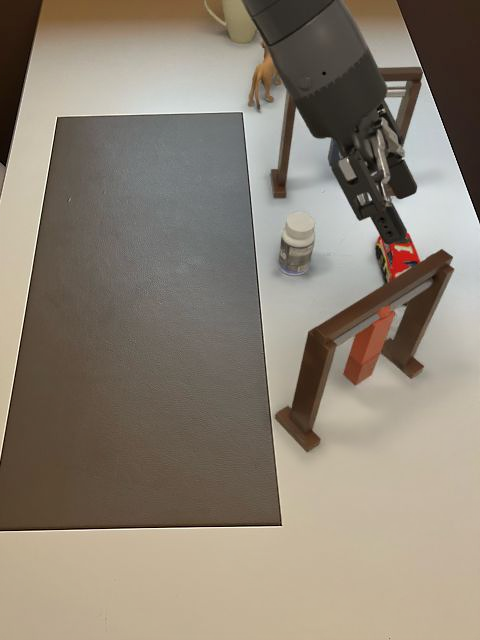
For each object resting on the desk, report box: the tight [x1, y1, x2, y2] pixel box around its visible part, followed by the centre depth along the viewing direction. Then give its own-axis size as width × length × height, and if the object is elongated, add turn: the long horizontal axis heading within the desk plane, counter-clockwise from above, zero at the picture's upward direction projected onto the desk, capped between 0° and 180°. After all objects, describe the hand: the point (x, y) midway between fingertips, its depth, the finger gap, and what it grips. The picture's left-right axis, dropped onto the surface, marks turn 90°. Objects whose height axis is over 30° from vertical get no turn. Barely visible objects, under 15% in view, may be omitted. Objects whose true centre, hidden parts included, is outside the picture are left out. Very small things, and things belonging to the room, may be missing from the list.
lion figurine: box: [247, 37, 282, 112], centre depth 115 cm, size 15×5×9 cm, turn 167°
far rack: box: [269, 66, 424, 199], centre depth 95 cm, size 6×20×19 cm, turn 91°
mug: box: [203, 0, 257, 44], centre depth 125 cm, size 11×10×12 cm
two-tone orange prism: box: [333, 277, 434, 387], centre depth 70 cm, size 2×15×13 cm, turn 126°
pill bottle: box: [277, 211, 316, 276], centre depth 89 cm, size 5×5×8 cm
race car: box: [375, 232, 421, 305], centre depth 90 cm, size 13×5×4 cm, turn 2°
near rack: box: [274, 248, 455, 453], centre depth 72 cm, size 6×20×19 cm, turn 126°
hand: (403, 216), depth 62 cm, fingers open, 8 cm apart
